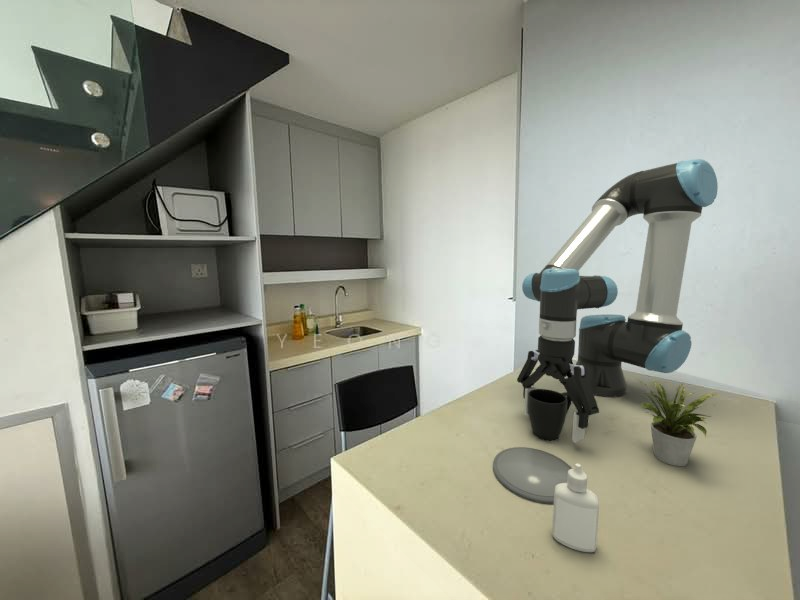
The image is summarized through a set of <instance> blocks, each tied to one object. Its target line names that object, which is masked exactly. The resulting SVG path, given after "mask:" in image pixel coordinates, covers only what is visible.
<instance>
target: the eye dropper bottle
mask: <svg viewBox="0 0 800 600" xmlns="http://www.w3.org/2000/svg"><path fill="white" fill-rule="evenodd" d="M587 486H588V475H587V473H586V472H584V471H583V470H582V465H581V464H580V463H575V465H574V467H573V468H572V469H570V470H569V471H568V479H567V483H560V484H557V485H556V486H555V492H554V504H553V510H552V512H553V513H552V528H551V529H552V534H551V535H552V537H553V538H554V539H555V541H557V543H558V542H559V544H561V545H563V546H565V547H567V548H570V549H572V550H575V551H579V552H583V553H594V552H596V549H597V545H598V544H597V542H598V541H597V540H598V530H599V528H598V527H599V513H600V511H599V510H600V504H599V503H600V502H599V498H598V496H597V494H595V493H594V492H593V491H591V490H590V489H588V487H587Z"/></svg>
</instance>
